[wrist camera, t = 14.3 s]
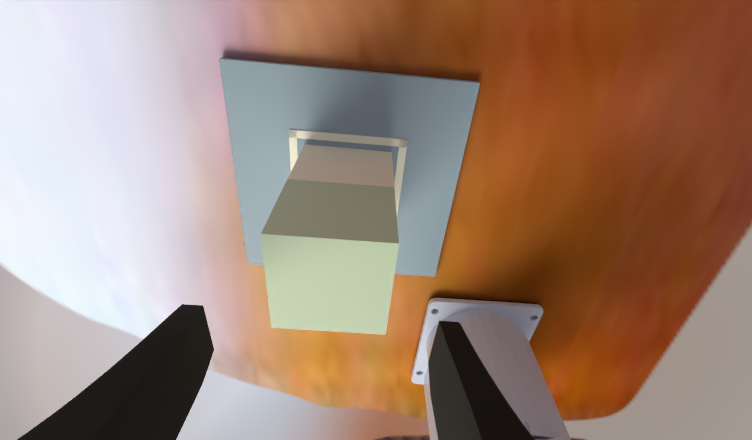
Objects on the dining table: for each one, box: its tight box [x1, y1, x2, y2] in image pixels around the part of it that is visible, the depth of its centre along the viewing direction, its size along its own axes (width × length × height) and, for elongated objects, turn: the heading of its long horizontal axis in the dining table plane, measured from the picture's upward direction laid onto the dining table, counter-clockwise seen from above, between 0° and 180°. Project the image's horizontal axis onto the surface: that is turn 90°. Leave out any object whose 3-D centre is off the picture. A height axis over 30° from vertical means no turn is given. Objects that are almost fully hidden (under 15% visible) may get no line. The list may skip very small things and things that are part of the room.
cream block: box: [288, 144, 395, 190], centre depth 18 cm, size 4×4×4 cm
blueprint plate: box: [219, 57, 480, 277], centre depth 20 cm, size 12×12×1 cm
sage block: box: [261, 179, 399, 335], centre depth 14 cm, size 4×4×4 cm
